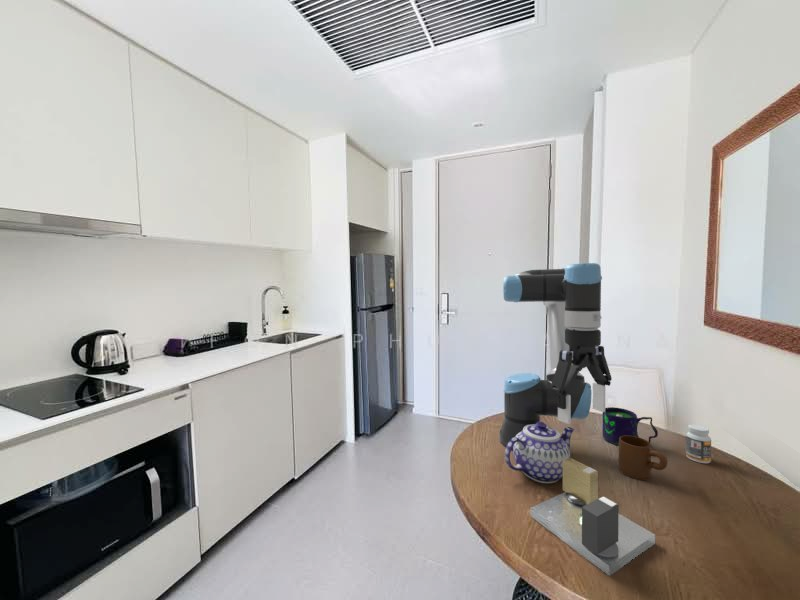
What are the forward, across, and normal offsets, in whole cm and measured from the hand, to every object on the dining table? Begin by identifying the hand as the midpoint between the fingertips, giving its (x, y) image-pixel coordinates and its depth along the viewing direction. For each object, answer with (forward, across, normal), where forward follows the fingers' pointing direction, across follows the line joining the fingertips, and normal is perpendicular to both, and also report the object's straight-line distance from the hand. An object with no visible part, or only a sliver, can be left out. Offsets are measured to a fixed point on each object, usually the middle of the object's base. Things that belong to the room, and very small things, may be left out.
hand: (582, 415), depth 78 cm
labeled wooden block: (+21, 0, 0) cm, 21 cm away
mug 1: (+23, +45, +12) cm, 52 cm away
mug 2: (+23, +26, -1) cm, 35 cm away
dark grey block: (+21, -11, -11) cm, 26 cm away
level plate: (+23, -6, -5) cm, 24 cm away
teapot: (+23, +4, +15) cm, 27 cm away
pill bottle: (+23, +51, -4) cm, 56 cm away
